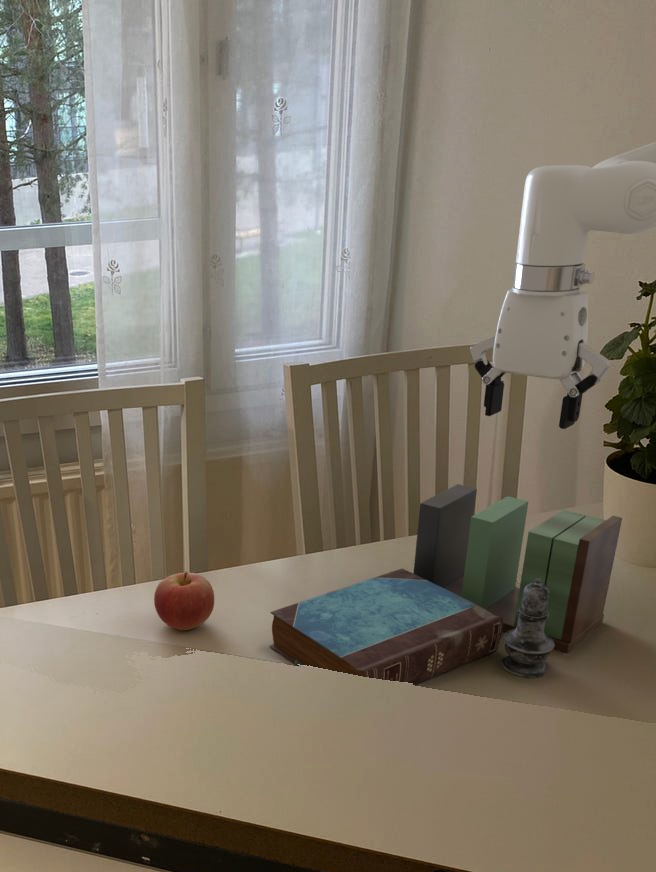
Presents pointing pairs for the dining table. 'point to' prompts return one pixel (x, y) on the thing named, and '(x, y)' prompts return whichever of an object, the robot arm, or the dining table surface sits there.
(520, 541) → the green book
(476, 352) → the robot arm
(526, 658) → the grey chess piece
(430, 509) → the book rack
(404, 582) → the book
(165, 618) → the apple
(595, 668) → the dining table surface
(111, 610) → the dining table surface
